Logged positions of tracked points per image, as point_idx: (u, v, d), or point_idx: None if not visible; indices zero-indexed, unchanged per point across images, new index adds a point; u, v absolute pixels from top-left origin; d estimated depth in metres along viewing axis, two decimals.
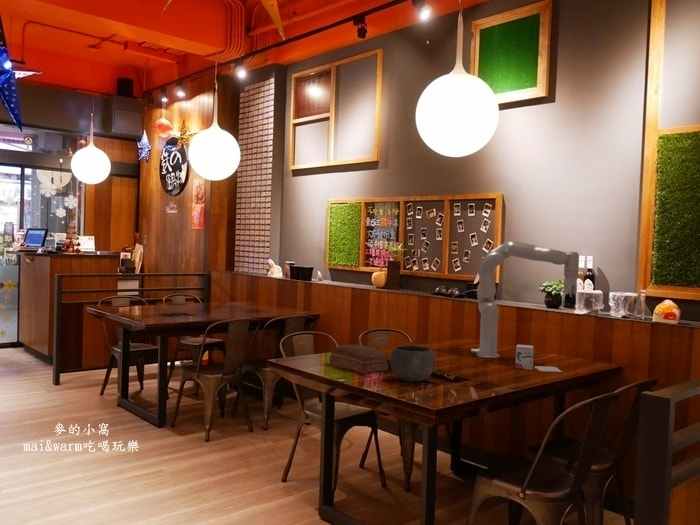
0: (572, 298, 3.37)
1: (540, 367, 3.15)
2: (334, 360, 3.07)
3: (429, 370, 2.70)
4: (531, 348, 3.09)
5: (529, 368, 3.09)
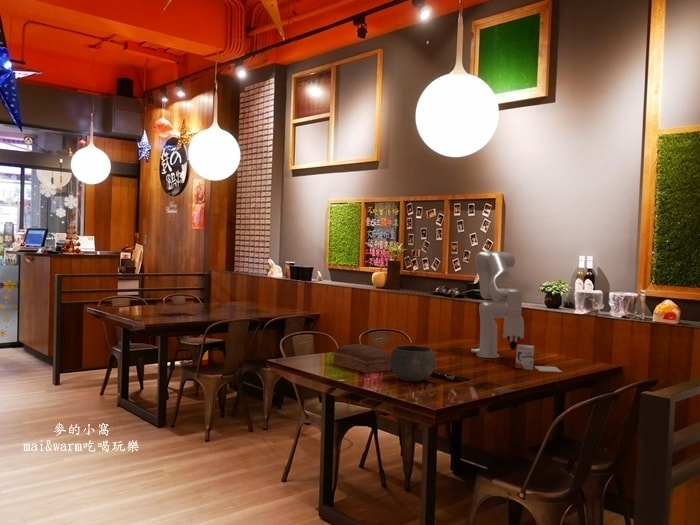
0: None
1: (540, 367, 3.15)
2: (338, 359, 3.08)
3: (429, 370, 2.70)
4: (532, 348, 3.09)
5: (529, 368, 3.09)
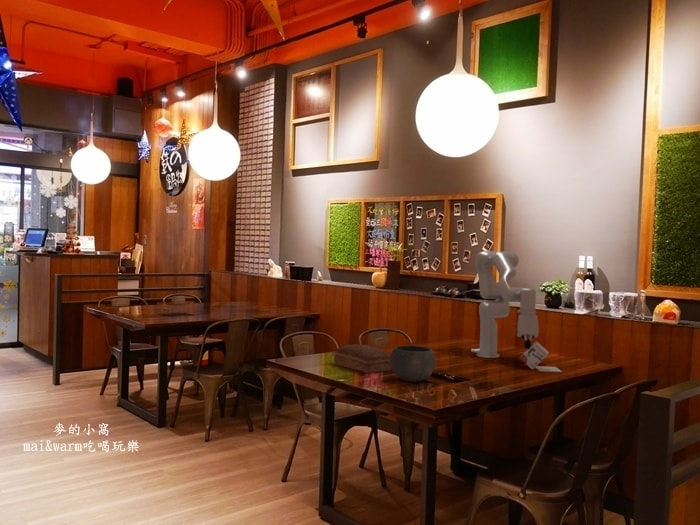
0: (530, 341, 3.10)
1: (540, 367, 3.15)
2: (338, 359, 3.09)
3: (429, 370, 2.70)
4: (546, 353, 3.06)
5: (531, 367, 3.09)
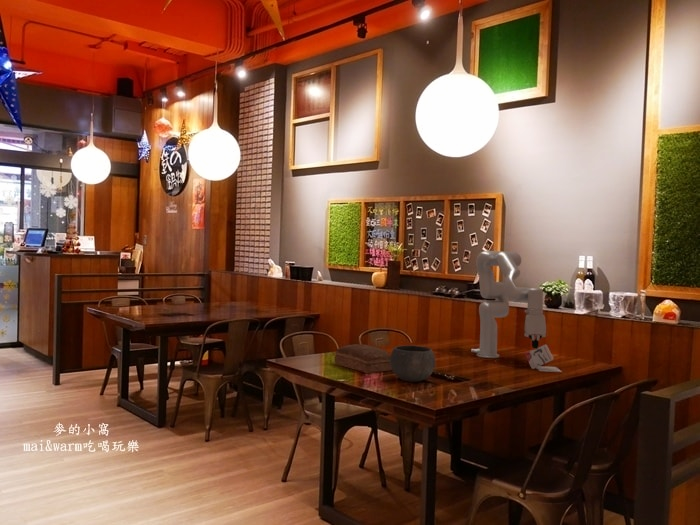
0: None
1: (540, 367, 3.15)
2: (339, 359, 3.09)
3: (429, 370, 2.70)
4: (551, 358, 3.06)
5: (532, 366, 3.09)
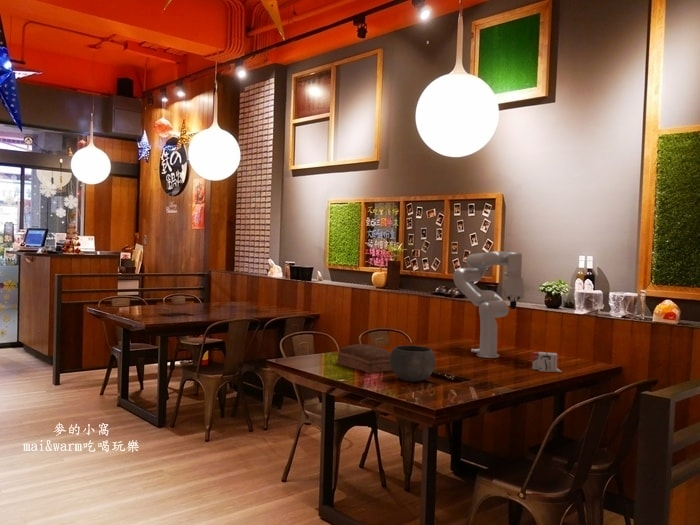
0: None
1: None
2: (342, 359, 3.09)
3: (429, 370, 2.70)
4: (555, 369, 3.05)
5: (533, 366, 3.09)
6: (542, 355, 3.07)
